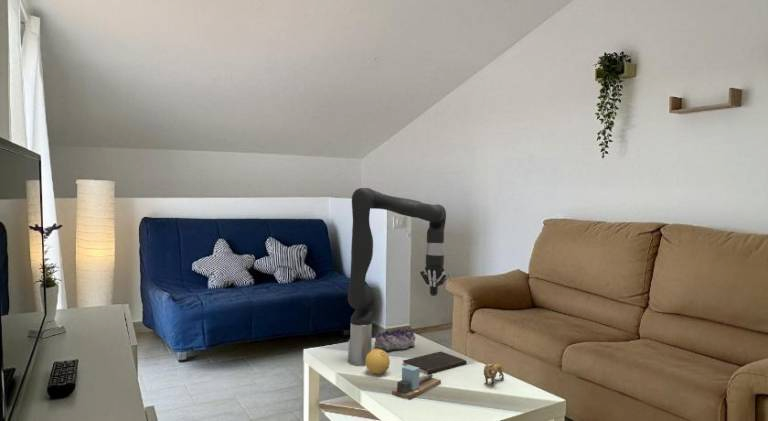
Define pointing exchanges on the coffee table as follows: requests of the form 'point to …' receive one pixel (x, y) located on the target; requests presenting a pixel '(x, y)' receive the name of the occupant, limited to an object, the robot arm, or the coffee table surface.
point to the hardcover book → (435, 362)
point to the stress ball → (377, 361)
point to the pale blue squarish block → (411, 376)
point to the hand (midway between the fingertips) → (433, 295)
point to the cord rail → (424, 385)
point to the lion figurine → (492, 372)
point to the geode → (395, 340)
